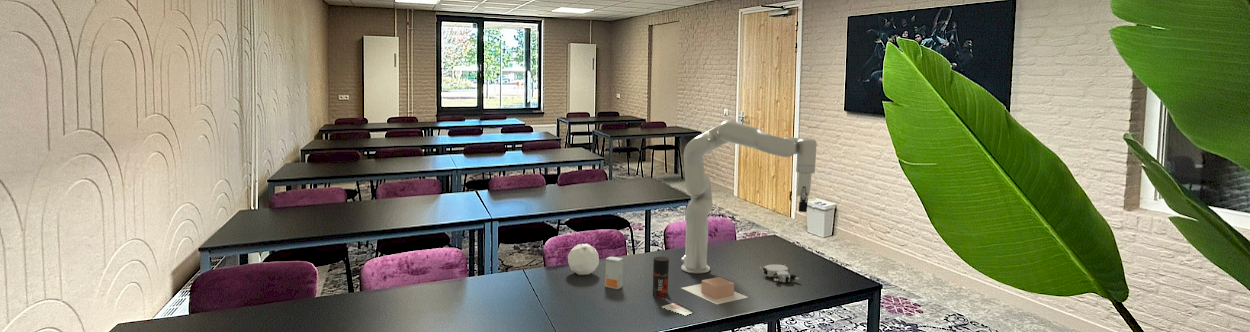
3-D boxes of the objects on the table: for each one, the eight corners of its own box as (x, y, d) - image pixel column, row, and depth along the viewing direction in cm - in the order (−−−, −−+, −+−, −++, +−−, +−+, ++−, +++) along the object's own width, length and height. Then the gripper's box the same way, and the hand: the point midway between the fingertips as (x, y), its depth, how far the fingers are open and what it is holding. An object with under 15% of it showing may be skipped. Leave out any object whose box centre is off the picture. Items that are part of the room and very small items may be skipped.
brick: (701, 292, 286) (701, 280, 285) (718, 288, 291) (719, 276, 290) (716, 299, 279) (716, 286, 278) (733, 295, 284) (734, 283, 283)
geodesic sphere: (607, 266, 302) (600, 235, 308) (575, 269, 297) (569, 238, 303) (597, 278, 314) (591, 248, 320) (567, 281, 309) (561, 251, 315)
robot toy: (800, 285, 304) (783, 272, 318) (801, 275, 303) (784, 262, 317) (773, 287, 301) (758, 274, 315) (774, 277, 300) (758, 264, 314)
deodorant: (655, 298, 281) (656, 261, 278) (650, 293, 286) (651, 256, 284) (669, 297, 282) (671, 260, 280) (664, 292, 288) (666, 256, 286)
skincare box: (604, 287, 293) (605, 258, 291) (609, 284, 297) (610, 255, 295) (617, 289, 290) (618, 260, 288) (622, 286, 294) (623, 258, 292)
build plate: (680, 290, 291) (680, 287, 291) (711, 284, 300) (711, 281, 300) (716, 307, 273) (716, 304, 273) (748, 299, 282) (748, 297, 282)
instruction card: (661, 307, 271) (661, 306, 271) (677, 302, 277) (677, 301, 277) (685, 316, 263) (685, 315, 263) (701, 310, 269) (701, 309, 269)
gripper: (797, 165, 308) (794, 204, 311) (795, 171, 292) (792, 212, 295) (815, 166, 306) (812, 205, 309) (814, 172, 290) (811, 214, 293)
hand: (802, 209), depth 302 cm, fingers open, 9 cm apart
